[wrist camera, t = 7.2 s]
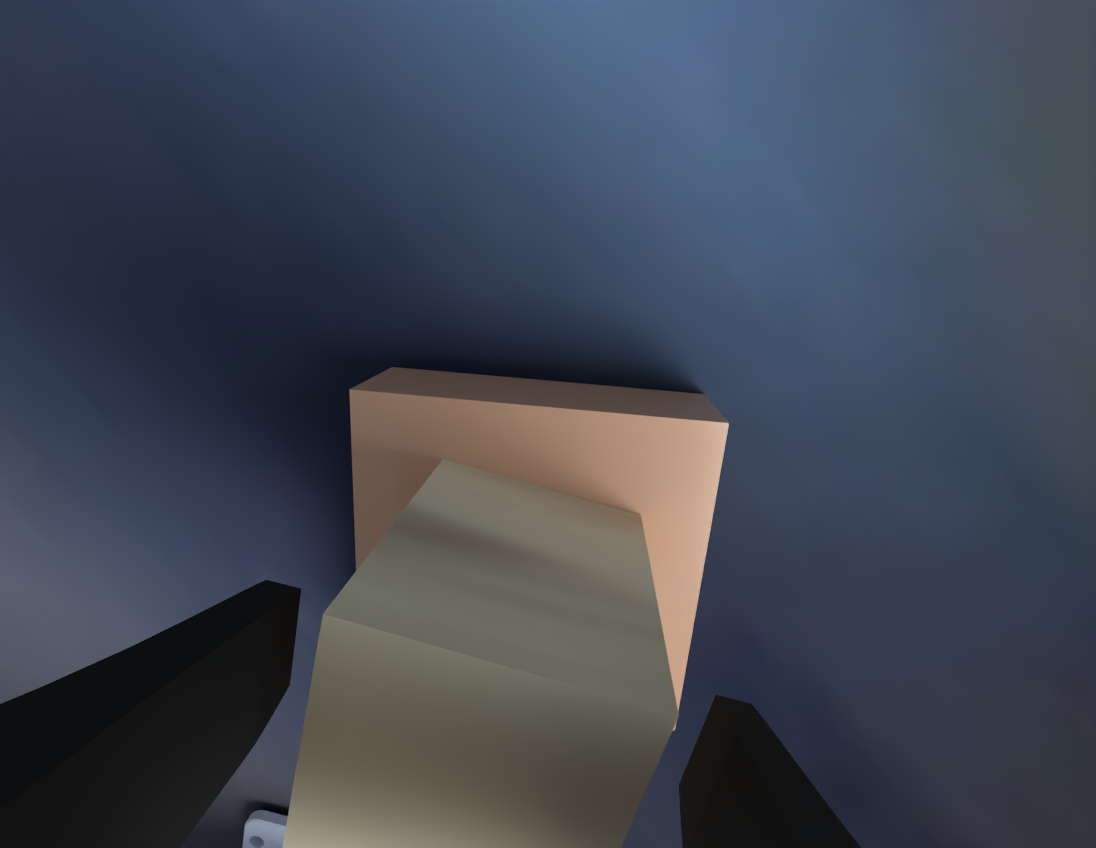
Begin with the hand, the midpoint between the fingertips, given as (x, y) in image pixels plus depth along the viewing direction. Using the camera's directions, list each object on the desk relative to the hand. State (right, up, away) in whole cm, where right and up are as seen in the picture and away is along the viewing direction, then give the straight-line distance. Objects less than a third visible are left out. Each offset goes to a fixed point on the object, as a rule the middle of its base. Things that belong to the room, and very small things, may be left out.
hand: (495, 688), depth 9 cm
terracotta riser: (+1, +2, +6) cm, 7 cm away
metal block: (0, +1, +3) cm, 4 cm away
